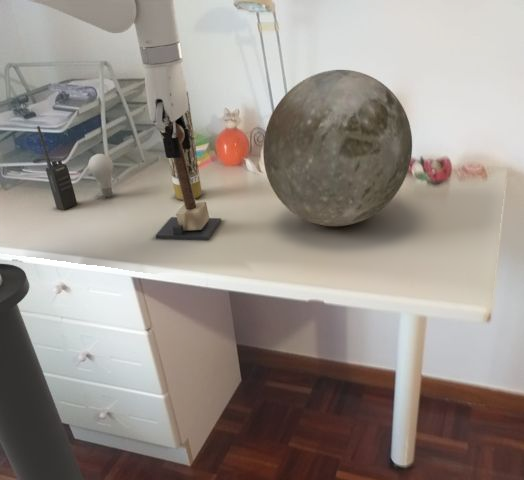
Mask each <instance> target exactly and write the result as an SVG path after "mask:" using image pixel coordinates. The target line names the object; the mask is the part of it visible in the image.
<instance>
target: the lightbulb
mask: <svg viewBox="0 0 524 480" xmlns="http://www.w3.org/2000/svg"><path fill="white" fill-rule="evenodd" d="M88 171H89V172H90V174H91V175H92V177H93V178H94V179H95V181H96V182H97V184H98V186H99V188H100V191H101V194H102V196H103V197H106V198H110V197H111V196H112V195H113V188H112V186H113V183H112V176H113V173H114V163H113V161H112V159H111V157H109V156H108V155H106V154H104V153H95V154H94V155H92V156H91V157H90V159H89V161H88Z"/></svg>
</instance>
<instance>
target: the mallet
mask: <svg viewBox="0 0 524 480" xmlns="http://www.w3.org/2000/svg"><path fill="white" fill-rule="evenodd" d="M175 125H176V137H179V143H180V149H181V154H182V156H181V157H180V158H173V159H174V163H175V167H176V171H177V175H178V179H179V184H180V188H181V192H182V196H183V200H182V201H183V205H182V206H181V208H180V209H179V210H178V211H177V212H176V213H175V216H176V217H177V220H178V224H179V225H182V226H183V231H189V230H202V228H203V227H204V226H205V224H206V223H207V222H208V220H209V219H210V218H211V217H210V215H209V210H208V206H207V202H206V201H199V202H196V199H195V198H194V194H193V189H192V185H191V181H190V176H189V172H188V168H187V163H186V159H185V155H184V150H183V146H182V142H183V140H184V137H185V133H184V130H183V128H182V127H181V126H180V125H179V124H177V123H175ZM166 126H169V128H170V129H171V124H168V125H166Z"/></svg>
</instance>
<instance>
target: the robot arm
mask: <svg viewBox="0 0 524 480" xmlns="http://www.w3.org/2000/svg"><path fill="white" fill-rule="evenodd" d="M28 1H29V2H33V3H37V4H40V5H43V6H46V7H49V8H51V9H53V10H56V11H59V12H60V13H63V14H66V15H67V16H70V17H73V18H75V19H77V20H79V21H81V22H84V23H86V24H89V25H91V26H94V27H96V28H98V29H101V30H103V31H104V32H105V31H106V32H107V33H111V34H121V33H125V32H126V31H128V30H130V28H132V26H133V24H134V26H135V32H136V37H137V42H138V47H139V53H140V57H141V63H142V67H144V68H143V74H144V85H145V94H146V101H147V102H146V103H147V108H148V113H149V118H150V121H151V123H153V124H155V128H156V129H157V130H158V131H159V133H160V137H161V139H162V142H163V149H164V153H165V157H166V158H167V159H169V158H180V157H181V156H182V154H181V149H180V143H179V137H176V125H175V123H177V124H179V125H180V126H181V127H182V128H183V130H184V133H185V137H184V140H183V142H182V146H183V149H190V148H191V145H190V139H189V133H188V129H185V128H188V123H187V119H186V118H187V114H186V112H187V110H188V107H189V106H188V97H189V96H188V97H187V91H188V90H187V91H186V88H187V85H186V81H185V76H184V71H183V67H182V62H183V54H182V48H181V42H180V36H179V28H178V21H177V16H176V11H175V4H174V0H28ZM165 118H169V120H170V121H165ZM166 124H171V129H170V128H169V126H166ZM1 284H2V277H1V275H0V286H1Z"/></svg>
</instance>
